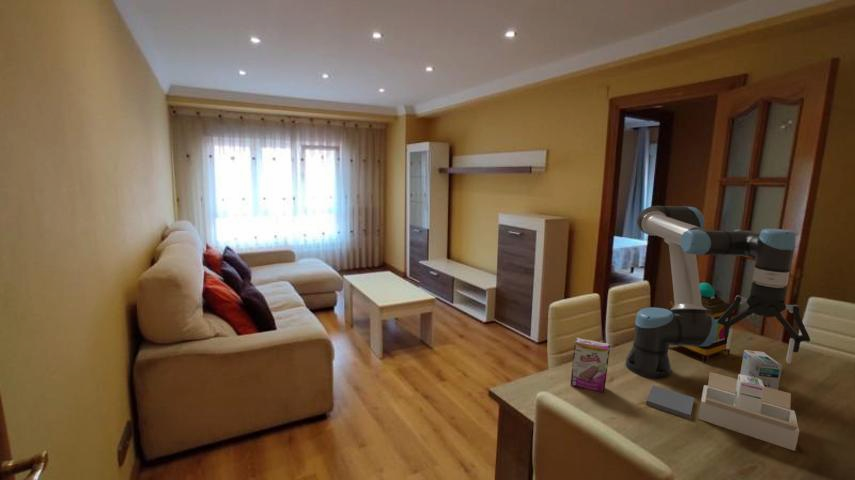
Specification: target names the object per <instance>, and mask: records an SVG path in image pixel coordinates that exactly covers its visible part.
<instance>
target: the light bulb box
mask: <svg viewBox="0 0 855 480" xmlns="http://www.w3.org/2000/svg"><path fill="white" fill-rule="evenodd" d="M782 370H783V364H781V363H780V362H779V361H777V360H775V359H774V358H772V357H771V356H769V355H768V354H767V353H766V352H764V351H757V350H750V349H749V350H747V349H744V350H743V356H742V361H741V367H740V373H739V374H742V375H748V376H753V377H756V378H760V379H762V382H763V385H764V386H765V387H769V388H772V389H776V390H779V387H780V386H779V385H780V380H781V374H782Z"/></svg>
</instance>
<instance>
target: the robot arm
mask: <svg viewBox="0 0 855 480" xmlns="http://www.w3.org/2000/svg"><path fill="white" fill-rule="evenodd" d="M636 224H637V228H638V230H640V231H641V232H642V233H643V234H646V235H648V236H651V237H652V236H654V237H655V236H657V237H660V238H662V239H663V241H664V243H666V244H667V245H668V248H669V251H668V252H669V258H670V259H669V260H670V261H669V262H670V268H671V269H670V270H671V278H672V289H673V299H674V301H675V306H674V307H673V308H672V307H671V308H670V310H669V309H668V308H662V307H645V308H642V309H640V310H638V312H637V313H636V318H635V321H634V323H635V324H634V332H633V341H632V342H633V343H632V346H631V349H630V351H629V352H628V354H627V356H626V358H625V367H627V369H628V370H630V371H631V372H632V373H635V374H637V375H639V376H643V377H646V378H650V379H660V380H662V379H667V378H669V377H670V376H671V371H672V367H671V363H670V358H669V348H670V347H669V346H676V347H679V346H694V347H699V346H709V345H711V344H712V343H713V342H714V340H715V339H716V336H717V331H718V327H717V323H716V321H715V319H714V318H713V317H712V316H710V315H708V311H707V309H706V308H705V307H703V306H702V302H701V293H700V285H699V284H700V277H699V269H698V260H697V256H729V257H731V256H732V257H734V256H735V257H747V258H751V259H755V263H754V271H753V274H752V275H753V276H752V281H753V282H752V283H751V288H750V293H749V297H744V296H742V295H740V294H737V295H736V296H735V298H734V301H733V302H732V303H731V306H730V307H729V308H728V309H727V310H726V311H725V312H724V313H723V314H722V315H721V316H720V318H719V319H718V323H719V324H722V325H724V334H723V335H724V337H727V345H726V349H729V348H730V347H731V343H732V342H731V340H732V336H733V329H734V327H733V326H734V325H736V324H737V323H738V322H741V321H742V320H744V319H745V318H747V317H748V316H751V315H752V314H755V315H756V316H761V317H762V316H763V317H764V316H765V317H766V318H770V319H771V318H774V317H775V318H776V319H777V321H779V323H780V324H781V325H782V326H783V327H784V329H785V330H786V332H788V334H789V335H790V336H791V337H790V338H789V342H788V348H787V353H786V358H785V360H786V364H790V365H791V364H792V358H793V352H794V353H799V350H800V345H801V343H802V342H808V343H809V342H810V341H811V338H810V335H809V333H808V331H807V329H806V327H805V324H804V323H803V320H802V318H801V316H800V307H799V305H798V304H796V303H794V304H786V303H785V301H786V296H787V291H788V290H787V289H788V288H787V287H786V286H788V283H789V279H790V273H791V268H792V262H793V258H794V257H793V256H794V254H795V253H794V252H795V249H796V240H797V238H796V236H797V235H796V234H797V233H795V232H794V231H792V230H789V229H780V228H763V229H761V231H760V232H755V231H752V230H747V229H734V230H714V229H713V230H712V229H711V230H710V229H706V228H705V225H706V223H705V217H704V215H703V213H702V212H701V210H699V209H698V208H696V207H694V206H687V205H682V206H678V205H677V206H676V205H652V206H648V207H646V208H644V209H642V210H641V212H640V213H639V214H638V215H637V218H636ZM744 303H747V306H748V307H747V308H746V309H744V310H742V311H740V312H739V313H738V314H736V315H735V316H732V315H731V314H733V313H734V312H735V311H736V309H737V308H738V307H739V305H743V304H744ZM734 310H735V311H734ZM785 310H788V312H789V313H790V314H792V315H793V318H794V320H795V322H796V324H797V327H798V328H799V332H800V333H801V335H799V334H798V333H797V331H796V330H795V328H793V327H792V325H791V324H790V323H789V322H788V321H787V320H786V319H787V318H785V317H784V316H783V314H782V312H784V311H785ZM733 311H734V312H733ZM730 315H731V316H732V317H731V319H729V320H728V321H726V319H727V318H728V317H729V316H730ZM730 349H731V348H730Z"/></svg>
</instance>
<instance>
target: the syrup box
mask: <svg viewBox="0 0 855 480" xmlns="http://www.w3.org/2000/svg"><path fill="white" fill-rule="evenodd" d="M737 379H738V380H737V386H736V393H735V399H734V406H737V407H740V408H743V409H747V410H750V411H753V412H757V413H760V414H761V407H762V401H763V394H764V388H765V387H764V385H763V382H762V379H760V378H756V377H753V376H748V375H742V374H740V373H739V374H738V375H737Z"/></svg>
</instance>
